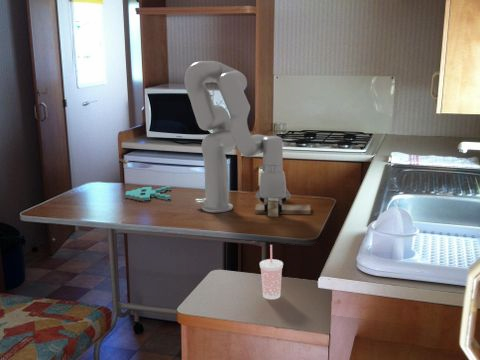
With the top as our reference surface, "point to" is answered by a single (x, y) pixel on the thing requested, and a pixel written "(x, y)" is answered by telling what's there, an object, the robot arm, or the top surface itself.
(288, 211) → the board
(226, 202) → the robot arm
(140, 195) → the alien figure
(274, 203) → the wooden mallet
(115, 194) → the top surface
